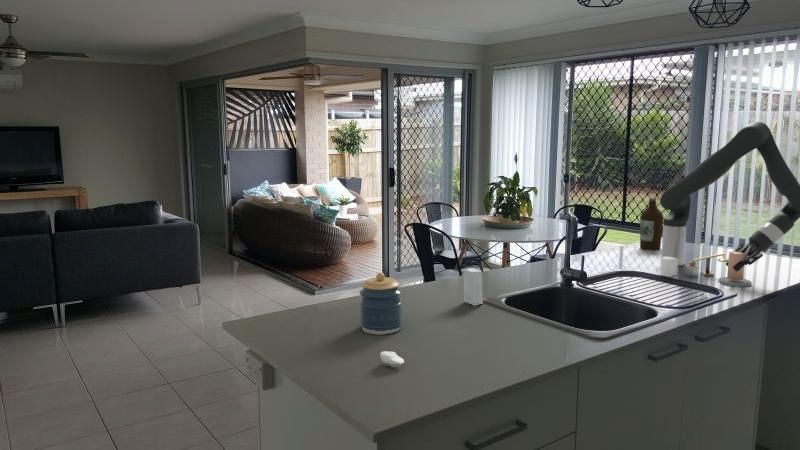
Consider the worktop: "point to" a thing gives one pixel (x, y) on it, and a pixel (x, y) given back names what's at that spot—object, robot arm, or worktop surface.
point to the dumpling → (391, 358)
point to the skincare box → (472, 286)
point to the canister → (381, 304)
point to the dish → (735, 282)
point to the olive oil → (651, 227)
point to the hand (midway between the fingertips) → (731, 267)
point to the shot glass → (669, 265)
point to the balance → (707, 272)
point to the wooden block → (733, 260)
